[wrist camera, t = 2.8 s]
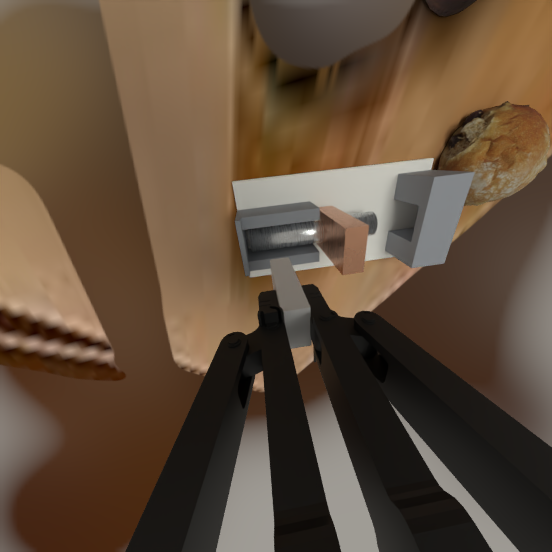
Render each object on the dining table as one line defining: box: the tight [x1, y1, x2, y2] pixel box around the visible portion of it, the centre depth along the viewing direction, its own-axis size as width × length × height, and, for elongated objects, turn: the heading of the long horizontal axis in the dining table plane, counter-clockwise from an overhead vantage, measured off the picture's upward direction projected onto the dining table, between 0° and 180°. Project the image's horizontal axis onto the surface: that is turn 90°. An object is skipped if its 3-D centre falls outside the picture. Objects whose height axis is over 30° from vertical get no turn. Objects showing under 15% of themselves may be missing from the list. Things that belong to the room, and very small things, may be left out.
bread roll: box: [437, 101, 550, 206], centre depth 23 cm, size 10×10×8 cm
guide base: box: [232, 158, 475, 277], centre depth 24 cm, size 12×23×6 cm, turn 96°
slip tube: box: [248, 206, 378, 275], centre depth 22 cm, size 4×14×9 cm, turn 96°
